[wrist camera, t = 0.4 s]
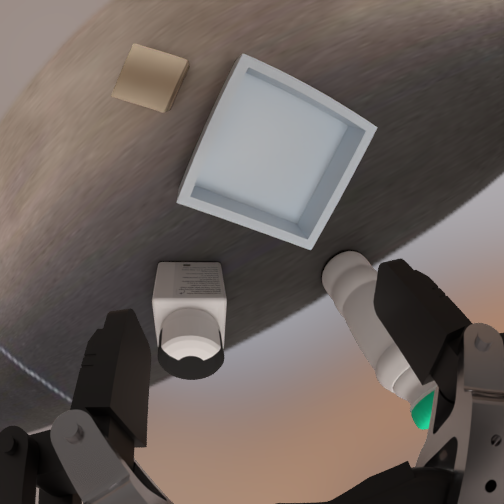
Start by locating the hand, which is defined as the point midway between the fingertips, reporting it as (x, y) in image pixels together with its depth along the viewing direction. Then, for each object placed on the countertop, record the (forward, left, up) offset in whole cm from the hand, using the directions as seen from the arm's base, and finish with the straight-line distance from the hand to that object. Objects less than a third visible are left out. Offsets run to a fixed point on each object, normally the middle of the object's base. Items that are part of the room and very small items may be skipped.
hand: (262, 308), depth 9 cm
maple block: (-5, -9, -25) cm, 27 cm away
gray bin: (-3, +5, -25) cm, 26 cm away
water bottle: (+8, +22, -25) cm, 35 cm away
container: (+17, +3, -25) cm, 31 cm away
